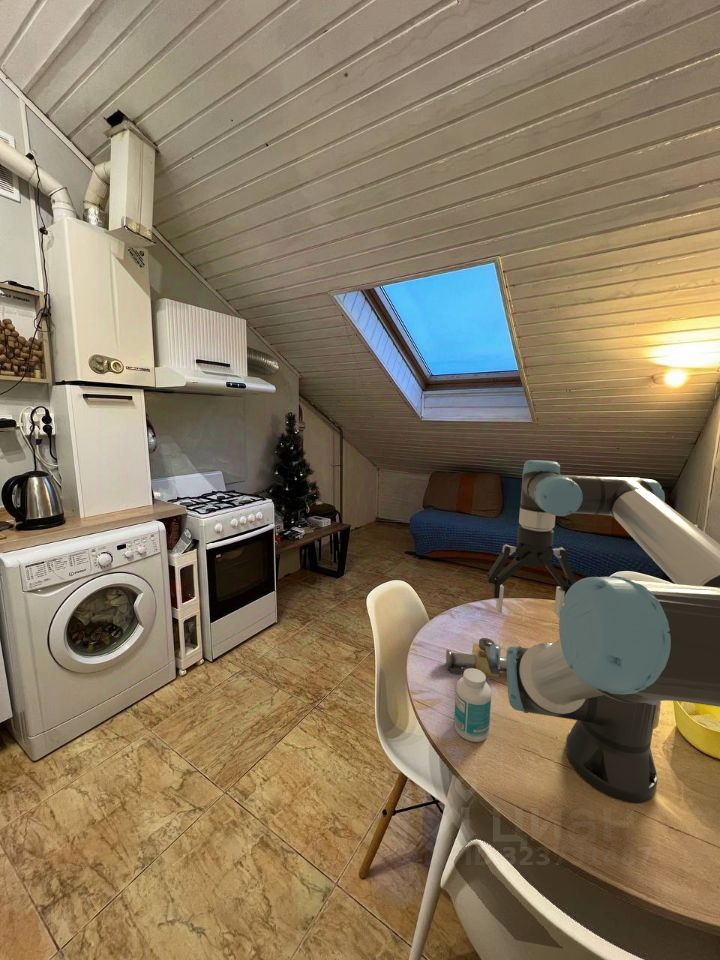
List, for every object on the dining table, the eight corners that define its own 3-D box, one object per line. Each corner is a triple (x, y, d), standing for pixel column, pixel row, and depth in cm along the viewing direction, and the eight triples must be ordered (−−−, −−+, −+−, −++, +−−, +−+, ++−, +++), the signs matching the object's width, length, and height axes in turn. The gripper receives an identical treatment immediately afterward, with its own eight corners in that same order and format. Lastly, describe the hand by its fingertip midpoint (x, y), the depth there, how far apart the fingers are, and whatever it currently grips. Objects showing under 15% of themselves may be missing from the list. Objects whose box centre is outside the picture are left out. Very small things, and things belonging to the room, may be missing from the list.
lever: (477, 642, 104) (479, 622, 103) (492, 643, 103) (494, 623, 102) (487, 673, 91) (488, 650, 90) (504, 675, 90) (506, 652, 89)
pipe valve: (527, 682, 98) (529, 658, 97) (447, 674, 101) (448, 651, 100) (520, 667, 104) (522, 645, 103) (445, 660, 107) (446, 638, 106)
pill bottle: (492, 726, 84) (497, 672, 82) (483, 750, 78) (488, 692, 76) (459, 711, 88) (463, 659, 86) (448, 733, 82) (452, 677, 80)
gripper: (585, 525, 89) (576, 609, 92) (477, 520, 92) (472, 601, 95) (601, 534, 81) (590, 625, 85) (484, 528, 84) (477, 616, 87)
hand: (528, 612), depth 90 cm, fingers open, 13 cm apart
